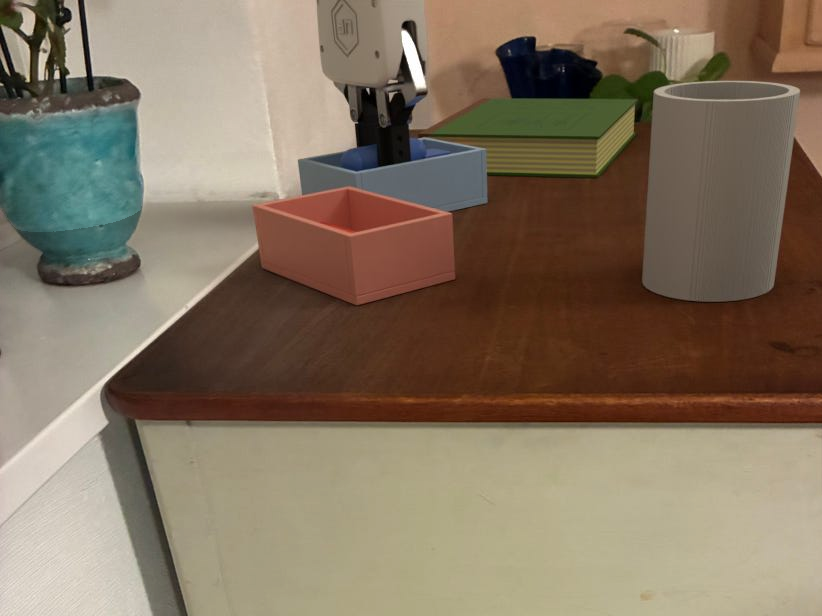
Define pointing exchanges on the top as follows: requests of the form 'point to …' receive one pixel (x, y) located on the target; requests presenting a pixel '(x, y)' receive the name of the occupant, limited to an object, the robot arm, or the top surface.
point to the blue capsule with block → (368, 157)
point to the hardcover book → (542, 134)
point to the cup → (717, 188)
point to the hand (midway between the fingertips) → (385, 170)
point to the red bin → (356, 243)
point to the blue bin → (408, 177)
